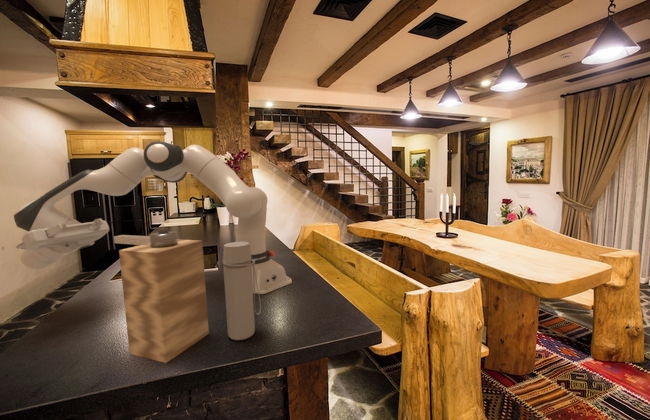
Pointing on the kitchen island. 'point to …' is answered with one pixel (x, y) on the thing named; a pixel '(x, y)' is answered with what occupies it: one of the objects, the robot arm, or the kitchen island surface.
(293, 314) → the kitchen island surface
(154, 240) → the ratchet wrench
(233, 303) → the water bottle
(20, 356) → the kitchen island surface
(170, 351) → the wooden block
